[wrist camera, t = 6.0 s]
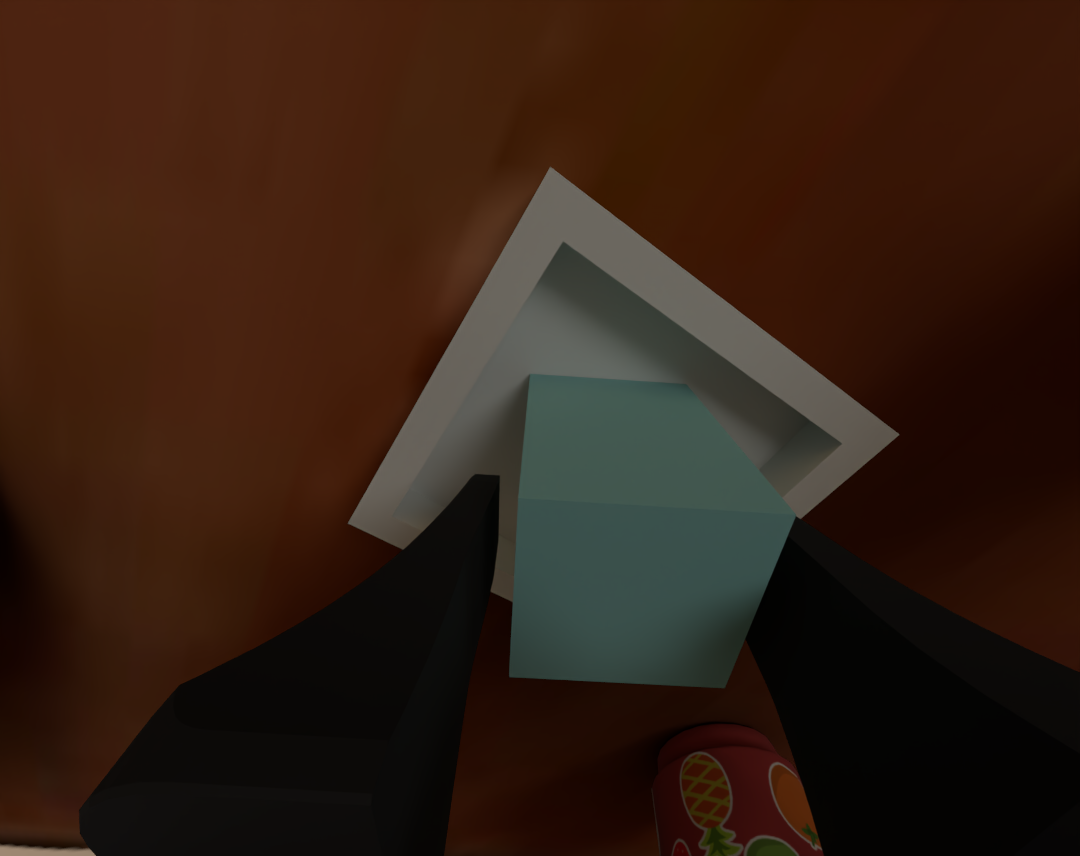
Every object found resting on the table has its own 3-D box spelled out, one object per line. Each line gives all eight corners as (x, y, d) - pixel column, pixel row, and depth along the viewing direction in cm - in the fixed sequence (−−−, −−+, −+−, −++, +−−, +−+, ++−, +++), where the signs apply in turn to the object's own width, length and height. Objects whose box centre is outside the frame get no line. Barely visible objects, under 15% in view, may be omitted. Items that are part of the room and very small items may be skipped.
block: (686, 383, 12) (796, 514, 7) (657, 510, 14) (724, 688, 9) (529, 373, 12) (518, 498, 7) (522, 502, 14) (509, 676, 9)
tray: (849, 403, 13) (899, 434, 11) (625, 611, 17) (634, 660, 15) (550, 175, 11) (550, 167, 9) (373, 484, 15) (348, 523, 13)
